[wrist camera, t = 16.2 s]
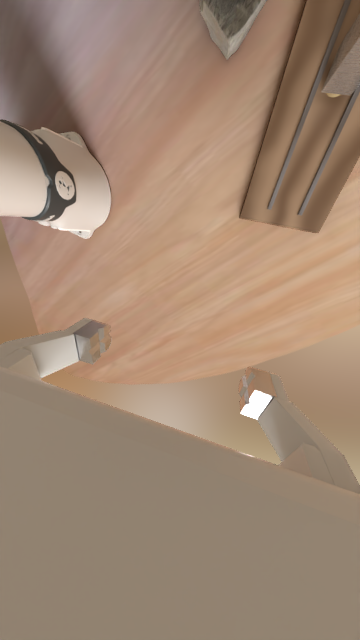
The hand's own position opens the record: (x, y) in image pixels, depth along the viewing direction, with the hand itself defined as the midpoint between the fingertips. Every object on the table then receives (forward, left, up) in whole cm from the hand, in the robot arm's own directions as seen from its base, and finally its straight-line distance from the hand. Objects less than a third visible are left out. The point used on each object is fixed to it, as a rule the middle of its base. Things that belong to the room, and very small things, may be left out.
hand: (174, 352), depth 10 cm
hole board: (+10, +26, -33) cm, 43 cm away
